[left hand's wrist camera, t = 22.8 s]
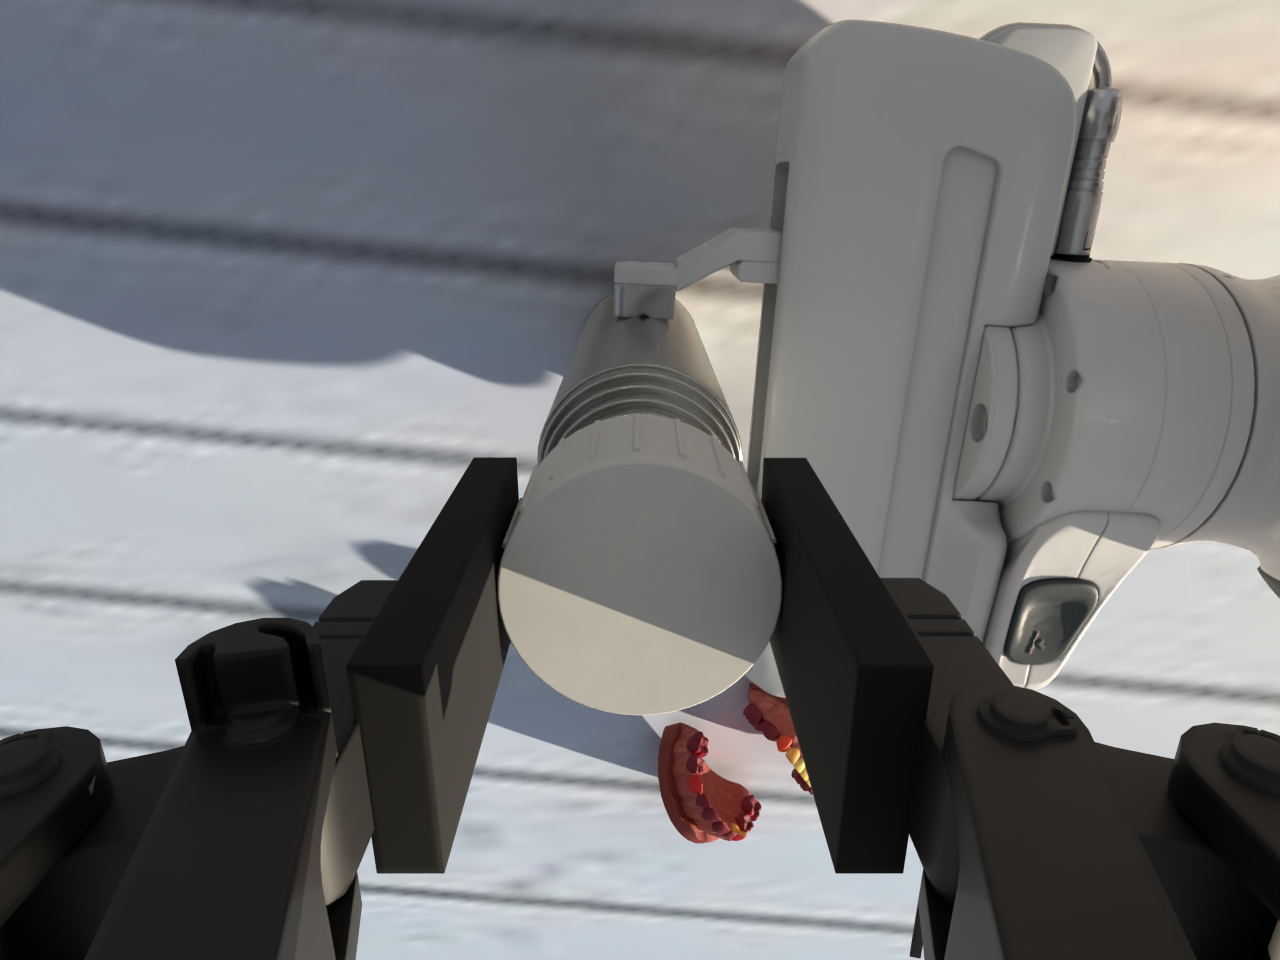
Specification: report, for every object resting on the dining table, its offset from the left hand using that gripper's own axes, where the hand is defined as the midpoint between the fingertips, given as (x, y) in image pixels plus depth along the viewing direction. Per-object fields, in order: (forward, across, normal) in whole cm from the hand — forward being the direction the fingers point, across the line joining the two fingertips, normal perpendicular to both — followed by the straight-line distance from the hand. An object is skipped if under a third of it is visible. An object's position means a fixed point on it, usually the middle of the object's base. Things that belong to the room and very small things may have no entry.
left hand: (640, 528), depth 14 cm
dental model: (+17, +5, -18) cm, 26 cm away
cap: (-2, 0, 0) cm, 2 cm away
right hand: (+11, -1, 0) cm, 11 cm away
